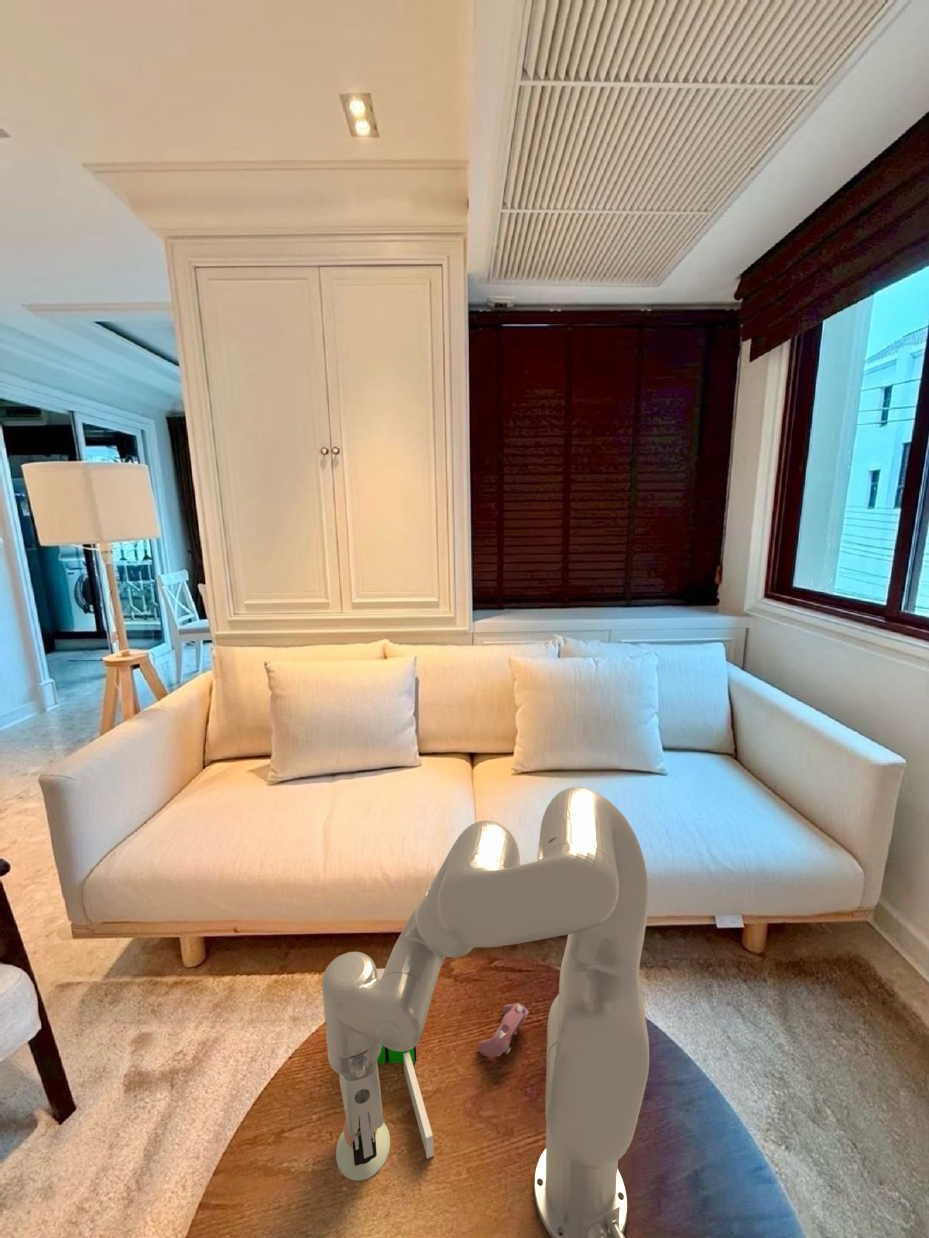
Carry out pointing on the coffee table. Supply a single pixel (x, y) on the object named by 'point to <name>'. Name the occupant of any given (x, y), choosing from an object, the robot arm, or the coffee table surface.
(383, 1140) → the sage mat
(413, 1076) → the beige rectangular block
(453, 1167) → the coffee table surface
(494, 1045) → the video game controller
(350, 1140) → the ball
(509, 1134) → the coffee table surface
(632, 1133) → the robot arm
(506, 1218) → the coffee table surface
